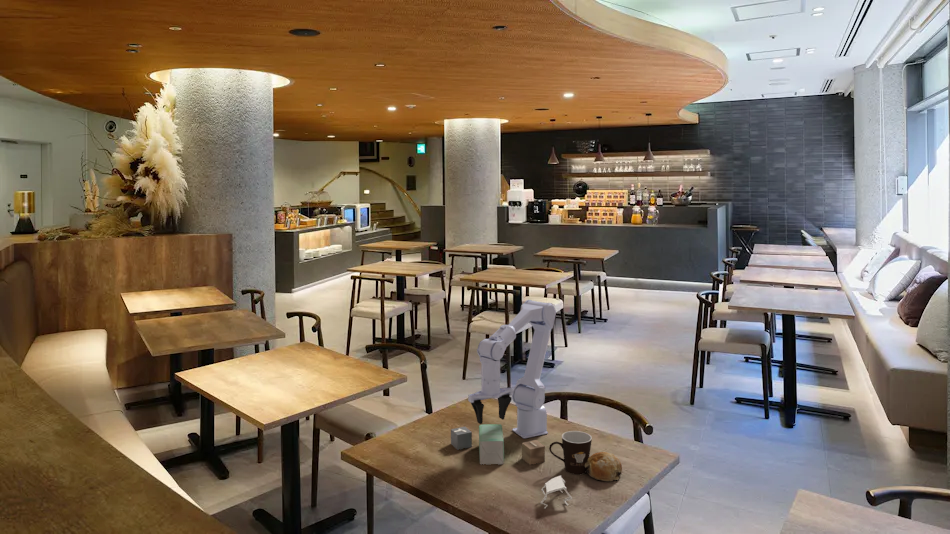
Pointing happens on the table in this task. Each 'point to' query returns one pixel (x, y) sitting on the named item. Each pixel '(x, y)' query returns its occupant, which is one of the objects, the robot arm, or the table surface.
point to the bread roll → (604, 466)
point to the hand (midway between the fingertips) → (490, 420)
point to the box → (491, 444)
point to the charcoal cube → (461, 438)
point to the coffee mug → (574, 451)
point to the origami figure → (555, 488)
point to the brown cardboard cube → (533, 452)
